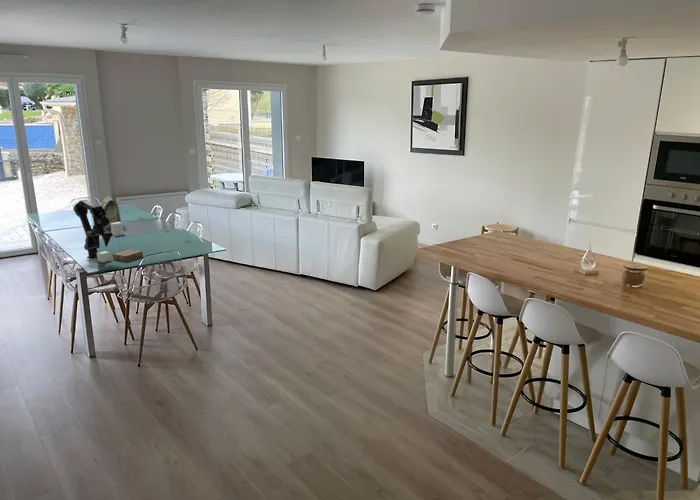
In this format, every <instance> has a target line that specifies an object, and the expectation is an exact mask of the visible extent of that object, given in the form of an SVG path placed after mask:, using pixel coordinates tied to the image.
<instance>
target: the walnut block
mask: <svg viewBox="0 0 700 500" xmlns="http://www.w3.org/2000/svg"><path fill="white" fill-rule="evenodd" d="M143 253H144V252H143V251H142V250H136V249H130V248H128V249H126V250H122V251H118V252H115V253H112V260H115V261H120V262H126V263H127V262H130V261H134V260H136V259H140V258H141V259H142V258H144V254H143Z"/></svg>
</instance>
